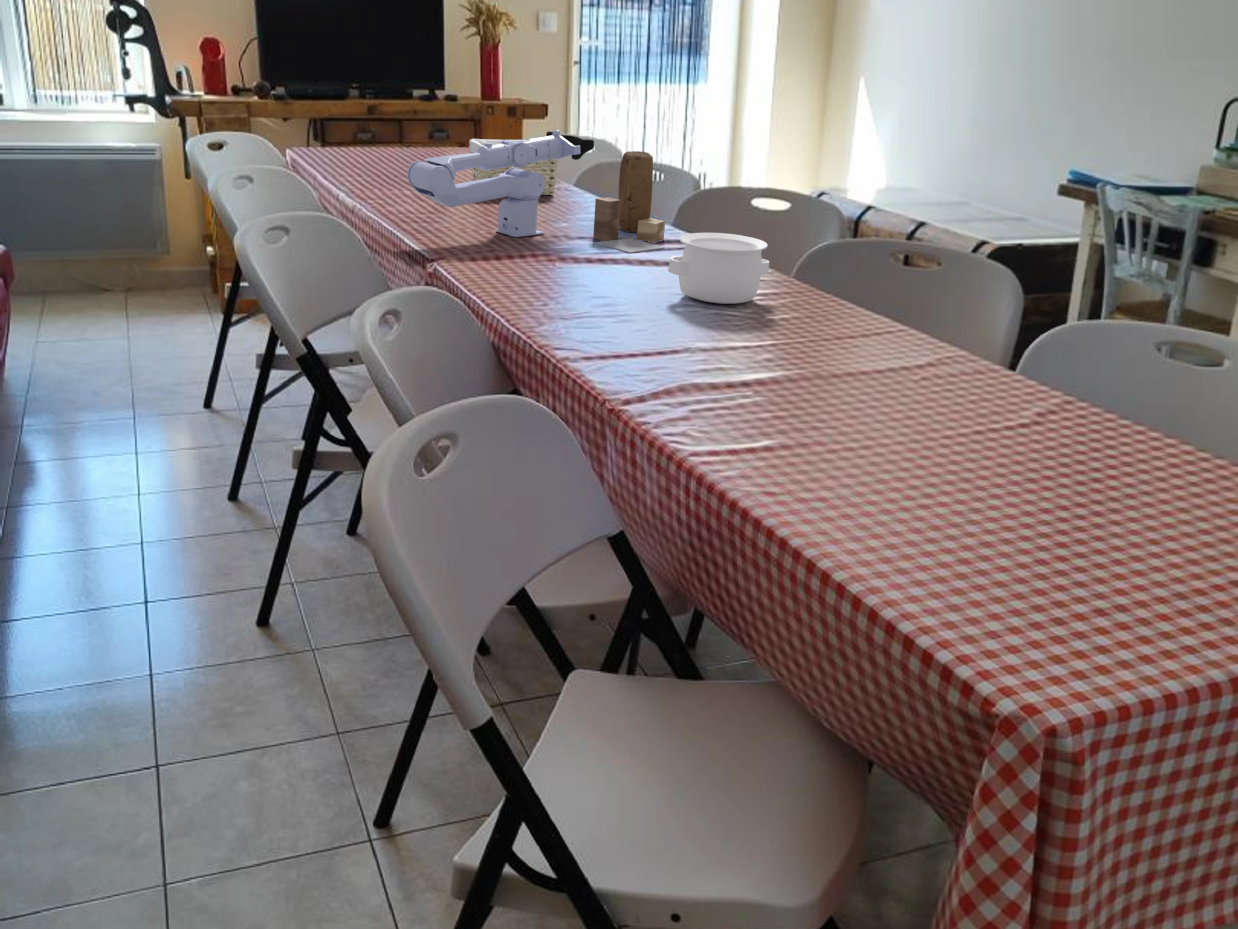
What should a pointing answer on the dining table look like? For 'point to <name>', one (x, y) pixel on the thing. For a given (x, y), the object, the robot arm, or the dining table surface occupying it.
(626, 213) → the block
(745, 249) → the pot
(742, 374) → the dining table surface
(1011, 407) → the dining table surface
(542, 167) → the storage basket
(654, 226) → the oak cube
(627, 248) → the mat
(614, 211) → the walnut pillar
